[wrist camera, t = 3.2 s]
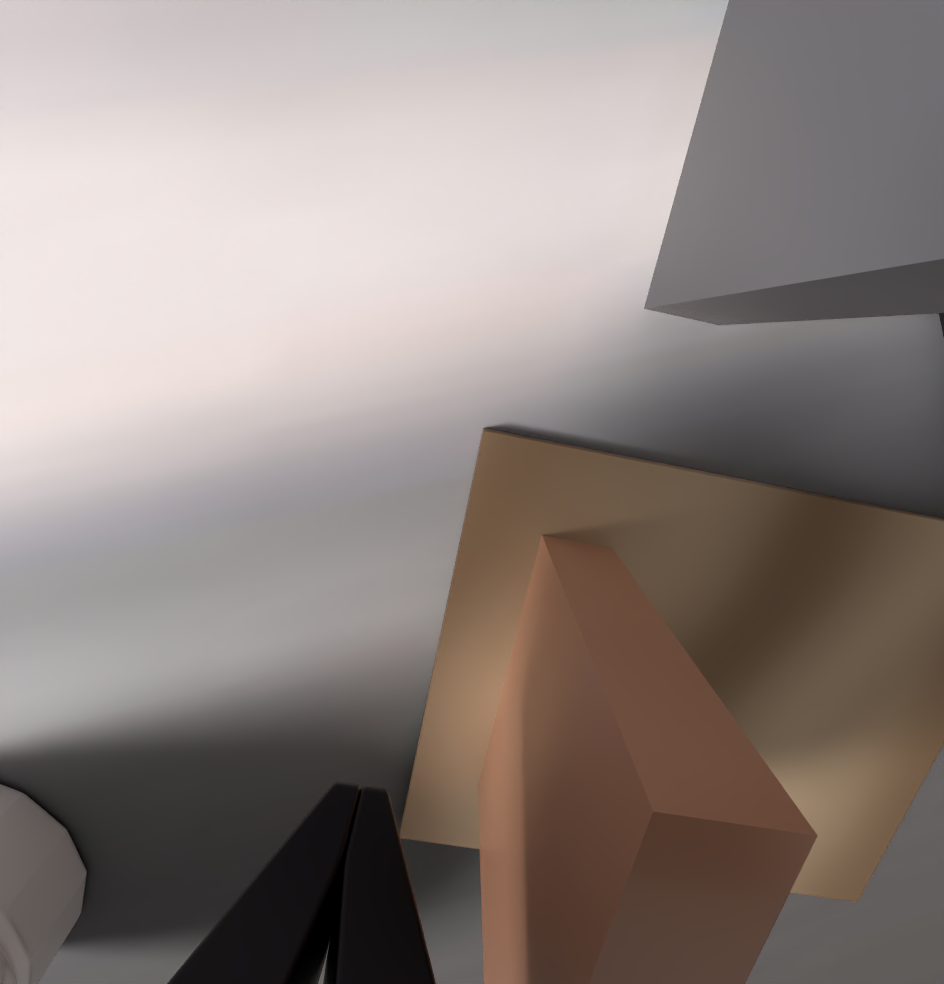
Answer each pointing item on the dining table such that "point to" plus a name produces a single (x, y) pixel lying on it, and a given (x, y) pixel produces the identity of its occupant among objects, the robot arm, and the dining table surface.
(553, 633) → the terracotta tile
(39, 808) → the white cup
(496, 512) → the cork mat
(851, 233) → the gray box
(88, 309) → the dining table surface
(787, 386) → the dining table surface
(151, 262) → the dining table surface
